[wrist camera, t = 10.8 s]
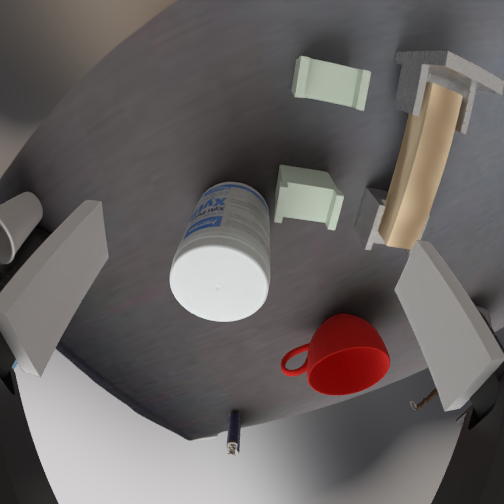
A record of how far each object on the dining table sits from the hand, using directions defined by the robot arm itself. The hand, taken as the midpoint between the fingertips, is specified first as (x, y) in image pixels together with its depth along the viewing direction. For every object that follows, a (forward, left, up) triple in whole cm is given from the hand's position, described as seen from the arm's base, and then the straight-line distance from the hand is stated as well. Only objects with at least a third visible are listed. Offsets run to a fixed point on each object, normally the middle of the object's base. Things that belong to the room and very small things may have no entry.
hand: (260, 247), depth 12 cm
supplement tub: (-2, -12, -26) cm, 29 cm away
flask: (+3, -67, -26) cm, 72 cm away
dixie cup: (-35, -14, -26) cm, 46 cm away
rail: (+18, 0, -23) cm, 29 cm away
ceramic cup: (+16, -31, -26) cm, 44 cm away
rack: (+6, 0, -26) cm, 27 cm away
